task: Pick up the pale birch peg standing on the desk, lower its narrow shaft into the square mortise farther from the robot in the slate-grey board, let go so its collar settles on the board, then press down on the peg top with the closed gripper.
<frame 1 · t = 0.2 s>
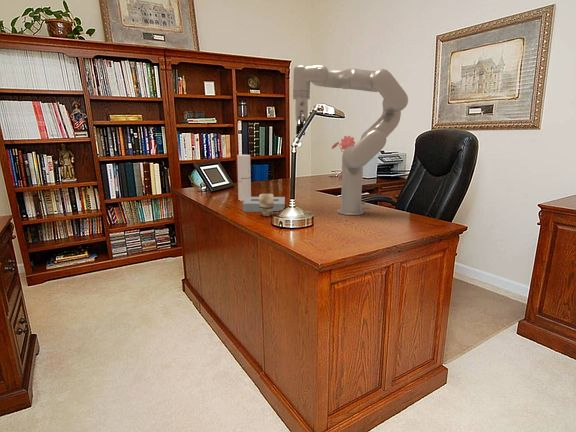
hand: (300, 135, 160), 36 cm above the table, tool pointing down, fingers open, 9 cm apart
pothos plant: (346, 180, 279), on the table
birch peg: (266, 215, 161), on the table
mortise board: (264, 207, 178), on the table
grey square post: (244, 200, 198), on the table
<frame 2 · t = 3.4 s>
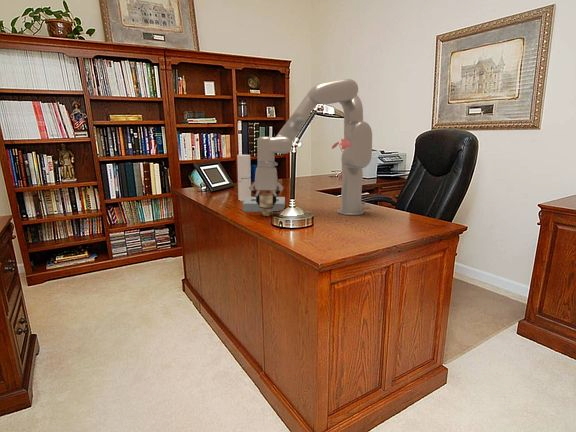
hand: (266, 204, 160), 5 cm above the table, tool pointing down, fingers closed on birch peg, 6 cm apart
birch peg: (266, 215, 161), on the table, touching gripper
everything else where it was.
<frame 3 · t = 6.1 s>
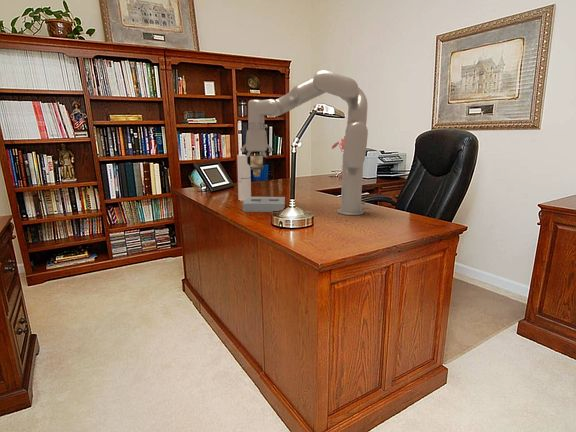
hand: (256, 165, 170), 22 cm above the table, tool pointing down, fingers closed on birch peg, 6 cm apart
birch peg: (256, 176, 171), point 16 cm above the table, touching gripper
everything else where it was.
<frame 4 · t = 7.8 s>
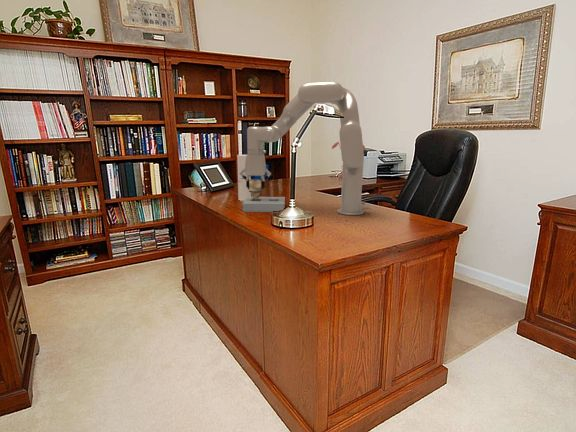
hand: (255, 188, 175), 10 cm above the table, tool pointing down, fingers closed on birch peg, 6 cm apart
birch peg: (255, 199, 177), point 4 cm above the table, touching gripper
everything else where it was.
when the fingers open (6 cm above the table, at t = 9.0 s): birch peg stays where it is, resting on mortise board.
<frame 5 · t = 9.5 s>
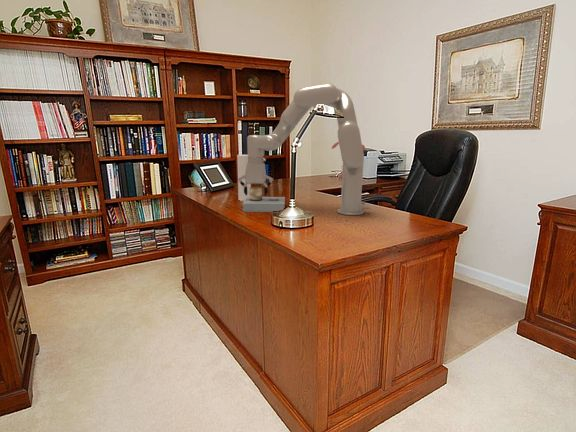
hand: (255, 194, 176), 7 cm above the table, tool pointing down, fingers open, 9 cm apart
birch peg: (256, 207, 178), resting on mortise board
everything else where it was.
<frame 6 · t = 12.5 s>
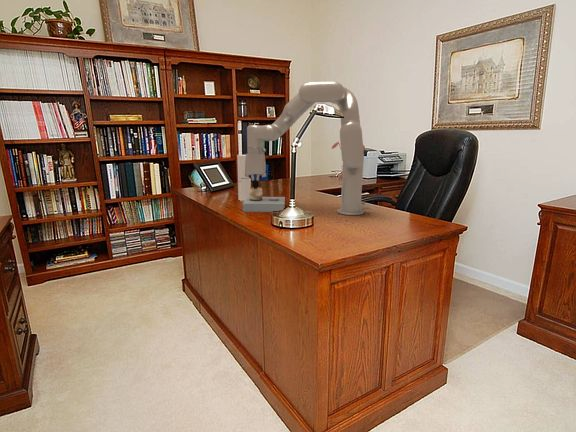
hand: (255, 188, 175), 10 cm above the table, tool pointing down, fingers closed
birch peg: (256, 207, 178), resting on mortise board, touching gripper
everything else where it was.
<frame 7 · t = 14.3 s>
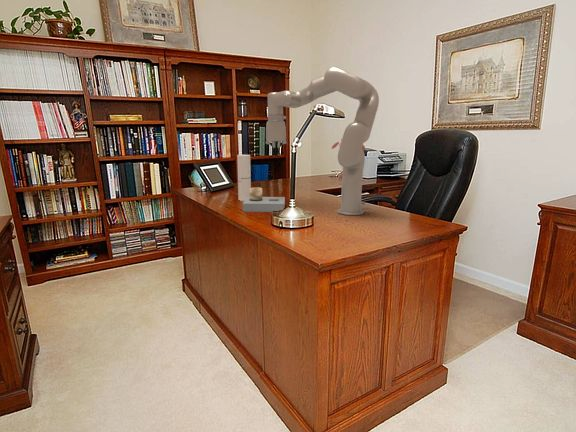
hand: (276, 155, 179), 26 cm above the table, tool pointing down, fingers closed
birch peg: (256, 207, 178), resting on mortise board
everything else where it was.
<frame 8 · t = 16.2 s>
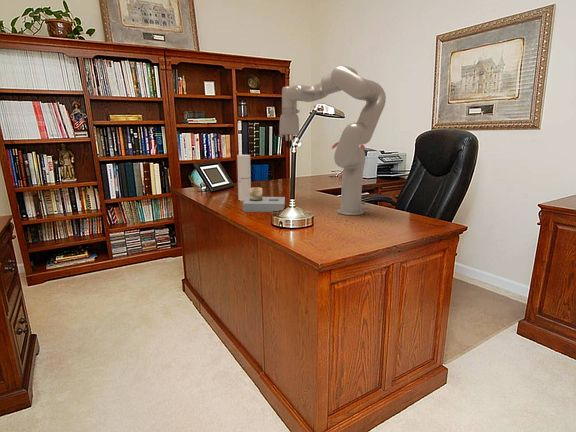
hand: (289, 148, 183), 29 cm above the table, tool pointing down, fingers closed
nothing on the table moved.
at the end: birch peg 0.1 cm from the target spot on the mortise board, point 0.2 cm above the mortise board's base; birch peg tilted 0°; the gripper is holding nothing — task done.
